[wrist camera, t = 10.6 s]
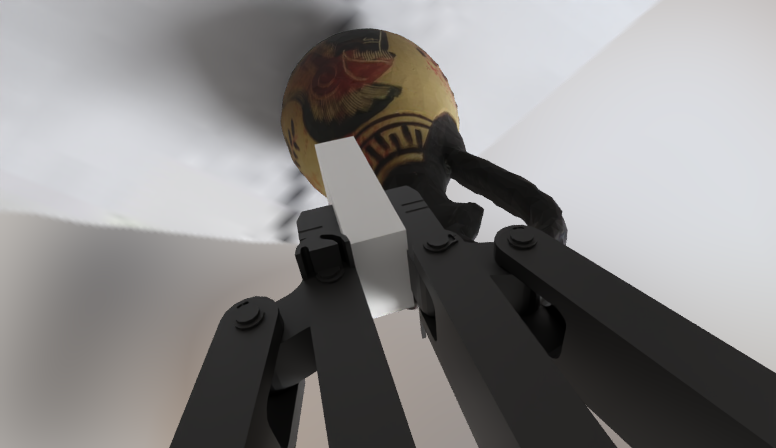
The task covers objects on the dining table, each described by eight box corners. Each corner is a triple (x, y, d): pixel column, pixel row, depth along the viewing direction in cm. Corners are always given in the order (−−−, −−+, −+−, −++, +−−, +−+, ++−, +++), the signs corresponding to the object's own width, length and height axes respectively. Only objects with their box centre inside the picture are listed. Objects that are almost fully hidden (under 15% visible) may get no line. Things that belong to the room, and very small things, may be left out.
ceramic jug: (305, 182, 46) (360, 419, 22) (254, 42, 37) (252, 186, 13) (441, 139, 48) (627, 317, 24) (423, -4, 39) (690, 51, 15)
